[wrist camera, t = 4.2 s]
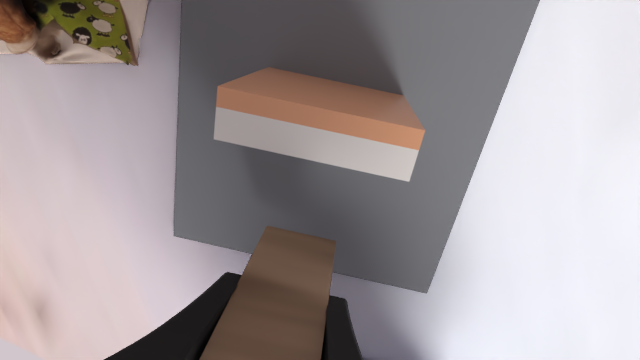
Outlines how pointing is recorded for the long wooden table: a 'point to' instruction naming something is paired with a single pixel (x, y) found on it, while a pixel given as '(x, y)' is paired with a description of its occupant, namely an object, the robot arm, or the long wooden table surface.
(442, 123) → the mat
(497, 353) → the long wooden table surface
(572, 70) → the long wooden table surface
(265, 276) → the tan wooden brick
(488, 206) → the long wooden table surface
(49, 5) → the bear figurine
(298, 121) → the tile
